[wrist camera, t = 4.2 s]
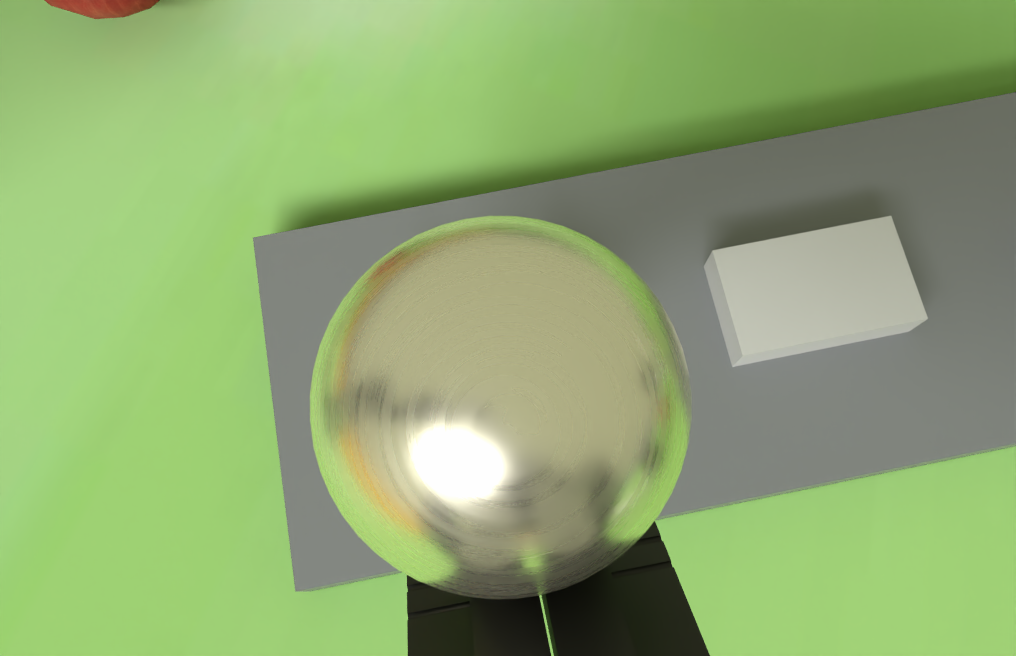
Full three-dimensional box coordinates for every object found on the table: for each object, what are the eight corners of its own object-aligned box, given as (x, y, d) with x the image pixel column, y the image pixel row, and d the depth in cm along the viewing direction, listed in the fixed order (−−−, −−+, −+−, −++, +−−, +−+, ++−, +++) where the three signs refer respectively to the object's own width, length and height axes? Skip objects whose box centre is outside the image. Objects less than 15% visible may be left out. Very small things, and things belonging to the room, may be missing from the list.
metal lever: (561, 396, 23) (783, 612, 7) (431, 422, 23) (320, 710, 6) (536, 266, 23) (695, 149, 6) (405, 292, 23) (224, 239, 6)
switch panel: (1348, 377, 25) (1523, 332, 20) (309, 591, 23) (260, 591, 19) (1199, 78, 27) (1324, -17, 23) (268, 256, 26) (217, 191, 22)
